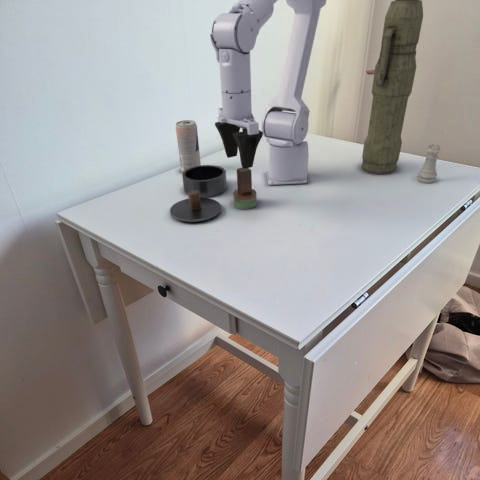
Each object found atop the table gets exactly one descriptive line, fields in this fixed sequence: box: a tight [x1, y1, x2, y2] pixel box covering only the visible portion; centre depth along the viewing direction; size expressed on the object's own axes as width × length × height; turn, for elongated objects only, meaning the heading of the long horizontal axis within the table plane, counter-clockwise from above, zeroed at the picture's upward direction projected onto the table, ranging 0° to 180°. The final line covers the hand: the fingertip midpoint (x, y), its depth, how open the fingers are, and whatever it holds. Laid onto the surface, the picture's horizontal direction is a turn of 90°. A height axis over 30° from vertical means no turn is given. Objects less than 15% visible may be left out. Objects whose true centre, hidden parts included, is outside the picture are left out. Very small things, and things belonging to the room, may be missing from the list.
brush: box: [232, 167, 258, 210], centre depth 93 cm, size 5×5×8 cm
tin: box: [181, 164, 228, 198], centre depth 102 cm, size 10×10×4 cm
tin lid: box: [169, 190, 222, 223], centre depth 92 cm, size 11×11×5 cm
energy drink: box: [175, 119, 202, 173], centre depth 110 cm, size 5×5×12 cm
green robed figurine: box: [360, 0, 424, 176], centre depth 98 cm, size 9×12×35 cm
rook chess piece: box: [416, 143, 442, 184], centre depth 99 cm, size 4×4×8 cm
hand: (239, 161), depth 89 cm, fingers open, 7 cm apart
